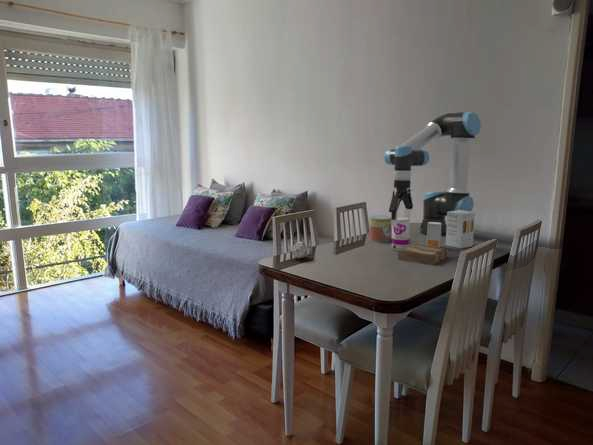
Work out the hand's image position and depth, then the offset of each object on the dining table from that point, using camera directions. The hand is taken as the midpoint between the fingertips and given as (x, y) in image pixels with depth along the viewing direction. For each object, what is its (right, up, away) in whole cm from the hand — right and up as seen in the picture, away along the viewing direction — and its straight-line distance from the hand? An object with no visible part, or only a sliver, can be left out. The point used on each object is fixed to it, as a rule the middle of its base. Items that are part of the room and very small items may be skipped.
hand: (400, 224), depth 214 cm
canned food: (-5, -8, +24) cm, 26 cm away
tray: (+7, -15, -14) cm, 21 cm away
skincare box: (+17, -11, +6) cm, 21 cm away
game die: (-48, -15, -11) cm, 51 cm away
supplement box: (+30, -11, +8) cm, 33 cm away
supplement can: (0, -12, +2) cm, 12 cm away
